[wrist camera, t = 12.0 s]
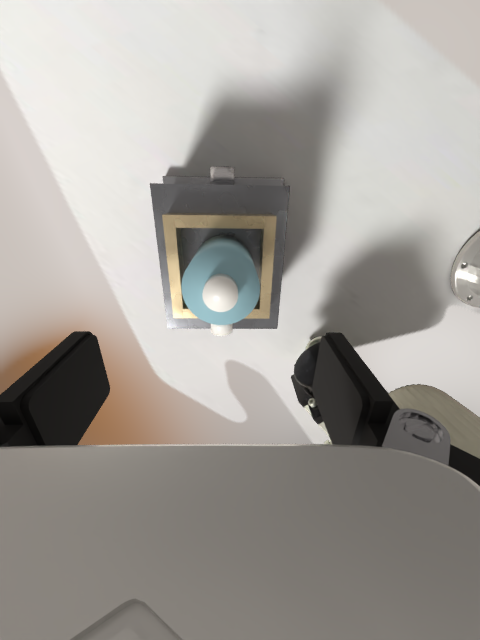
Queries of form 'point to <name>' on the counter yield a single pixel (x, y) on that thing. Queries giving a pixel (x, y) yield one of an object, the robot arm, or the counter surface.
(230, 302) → the drain pump
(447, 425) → the canister
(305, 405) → the cream boxy piece
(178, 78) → the counter surface
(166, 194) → the grey box
